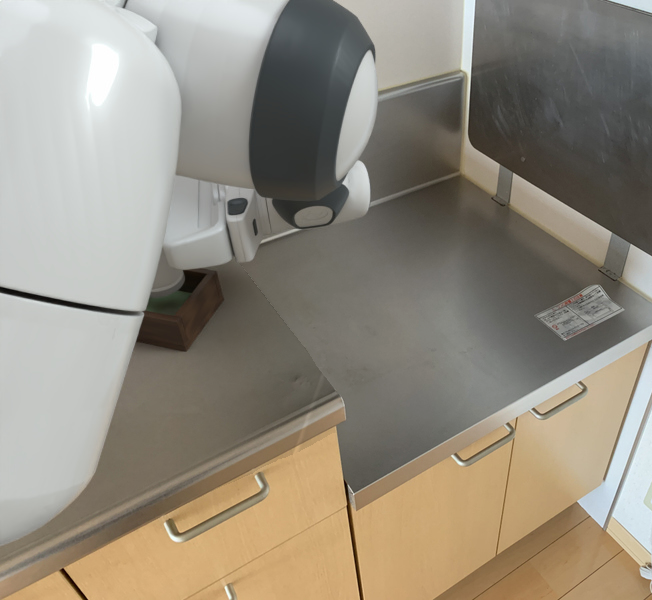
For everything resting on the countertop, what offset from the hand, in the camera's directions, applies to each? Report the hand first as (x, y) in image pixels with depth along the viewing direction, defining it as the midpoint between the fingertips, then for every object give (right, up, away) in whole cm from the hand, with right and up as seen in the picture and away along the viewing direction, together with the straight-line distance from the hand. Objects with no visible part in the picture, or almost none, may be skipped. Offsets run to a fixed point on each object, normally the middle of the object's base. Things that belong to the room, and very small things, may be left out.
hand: (130, 217), depth 76 cm
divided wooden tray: (-4, -12, +12) cm, 18 cm away
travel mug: (+1, -8, +7) cm, 11 cm away
